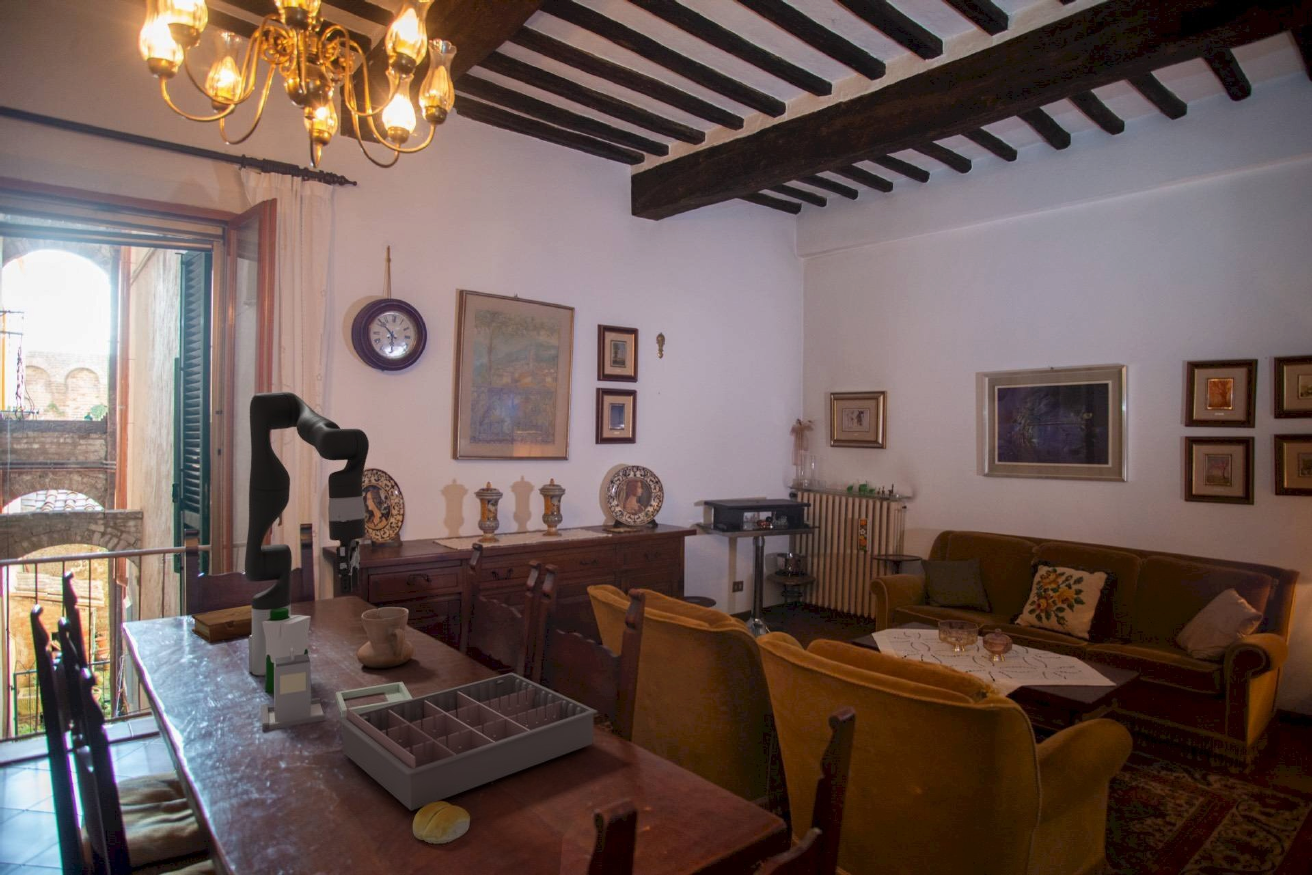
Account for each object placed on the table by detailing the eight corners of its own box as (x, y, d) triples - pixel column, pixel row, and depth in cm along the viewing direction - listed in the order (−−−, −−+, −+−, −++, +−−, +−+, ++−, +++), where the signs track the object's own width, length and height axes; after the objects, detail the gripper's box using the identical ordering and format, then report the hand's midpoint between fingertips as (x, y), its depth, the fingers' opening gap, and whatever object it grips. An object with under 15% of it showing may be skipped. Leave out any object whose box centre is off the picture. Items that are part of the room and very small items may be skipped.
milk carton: (283, 684, 187) (283, 605, 187) (315, 687, 185) (315, 607, 185) (258, 697, 178) (257, 613, 178) (291, 699, 176) (291, 615, 176)
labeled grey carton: (309, 708, 168) (308, 643, 168) (310, 716, 164) (310, 649, 164) (274, 714, 165) (273, 648, 165) (275, 722, 160) (274, 654, 160)
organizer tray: (598, 750, 150) (598, 701, 150) (408, 822, 123) (407, 762, 122) (512, 706, 173) (512, 663, 173) (336, 758, 146) (336, 707, 146)
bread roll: (440, 812, 126) (440, 788, 126) (478, 827, 121) (478, 803, 121) (400, 834, 119) (400, 809, 119) (438, 852, 114) (438, 826, 114)
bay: (319, 706, 173) (319, 695, 172) (324, 724, 162) (324, 712, 162) (261, 715, 167) (261, 704, 167) (262, 735, 156) (262, 723, 156)
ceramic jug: (346, 662, 205) (346, 610, 204) (397, 650, 215) (397, 601, 214) (373, 679, 192) (373, 625, 191) (426, 666, 202) (426, 614, 201)
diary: (209, 644, 223) (209, 625, 223) (191, 632, 236) (191, 614, 235) (290, 629, 239) (290, 611, 239) (269, 618, 252) (268, 601, 252)
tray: (402, 691, 182) (402, 681, 182) (412, 709, 171) (412, 698, 171) (335, 702, 175) (335, 692, 175) (342, 722, 163) (342, 710, 163)
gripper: (335, 516, 173) (338, 586, 173) (322, 521, 159) (325, 597, 159) (369, 514, 175) (372, 583, 174) (359, 518, 161) (362, 594, 160)
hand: (350, 590), depth 167 cm, fingers open, 8 cm apart
